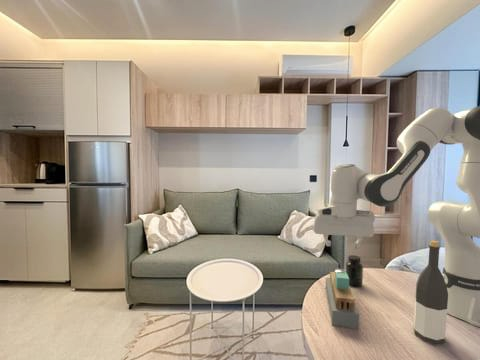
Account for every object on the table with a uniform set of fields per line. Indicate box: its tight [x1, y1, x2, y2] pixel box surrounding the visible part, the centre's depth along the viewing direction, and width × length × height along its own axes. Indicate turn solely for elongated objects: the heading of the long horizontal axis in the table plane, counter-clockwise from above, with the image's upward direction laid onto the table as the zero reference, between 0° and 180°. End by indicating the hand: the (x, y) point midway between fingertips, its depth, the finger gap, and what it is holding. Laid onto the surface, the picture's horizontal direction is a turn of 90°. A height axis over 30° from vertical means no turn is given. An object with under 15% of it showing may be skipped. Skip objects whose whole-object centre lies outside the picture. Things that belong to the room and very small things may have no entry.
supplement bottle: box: [345, 255, 364, 288], centre depth 110 cm, size 7×7×12 cm
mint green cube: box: [335, 273, 350, 290], centre depth 91 cm, size 4×4×4 cm
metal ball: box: [334, 268, 346, 276], centre depth 95 cm, size 4×4×4 cm
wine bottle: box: [413, 240, 448, 346], centre depth 77 cm, size 8×8×30 cm
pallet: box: [329, 271, 355, 310], centre depth 93 cm, size 6×20×4 cm, turn 166°
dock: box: [325, 277, 360, 330], centre depth 93 cm, size 8×24×5 cm, turn 166°
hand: (342, 246), depth 92 cm, fingers open, 8 cm apart
